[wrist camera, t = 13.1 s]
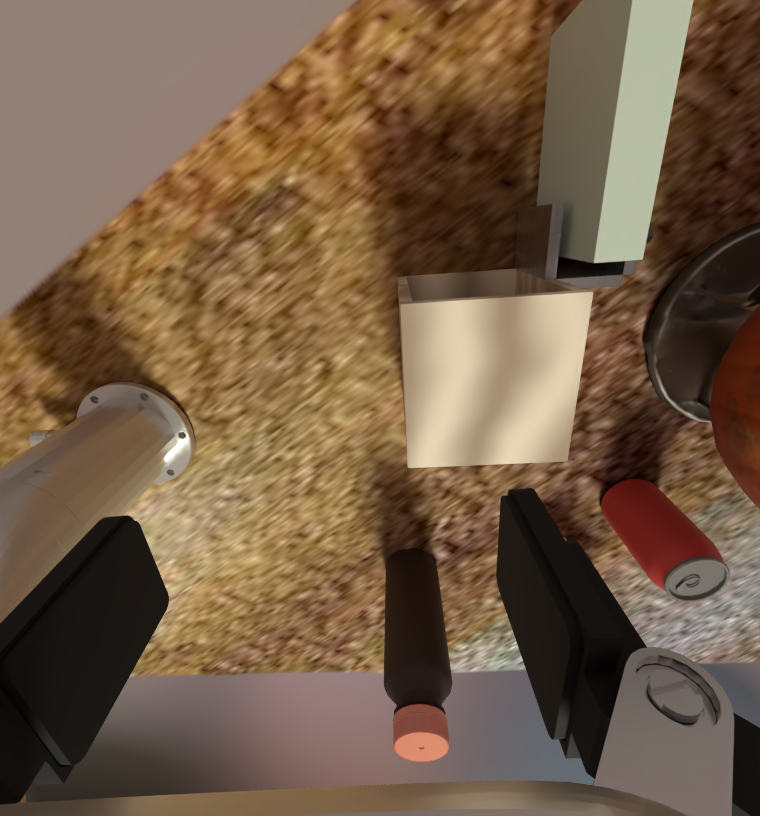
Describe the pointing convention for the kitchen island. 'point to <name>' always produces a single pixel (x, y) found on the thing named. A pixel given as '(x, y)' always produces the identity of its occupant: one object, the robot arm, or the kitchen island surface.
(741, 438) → the pumpkin
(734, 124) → the kitchen island surface
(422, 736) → the bottle
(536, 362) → the cabinet
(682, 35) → the door
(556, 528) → the robot arm
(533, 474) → the kitchen island surface
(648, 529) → the beer can
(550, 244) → the hinge clips
